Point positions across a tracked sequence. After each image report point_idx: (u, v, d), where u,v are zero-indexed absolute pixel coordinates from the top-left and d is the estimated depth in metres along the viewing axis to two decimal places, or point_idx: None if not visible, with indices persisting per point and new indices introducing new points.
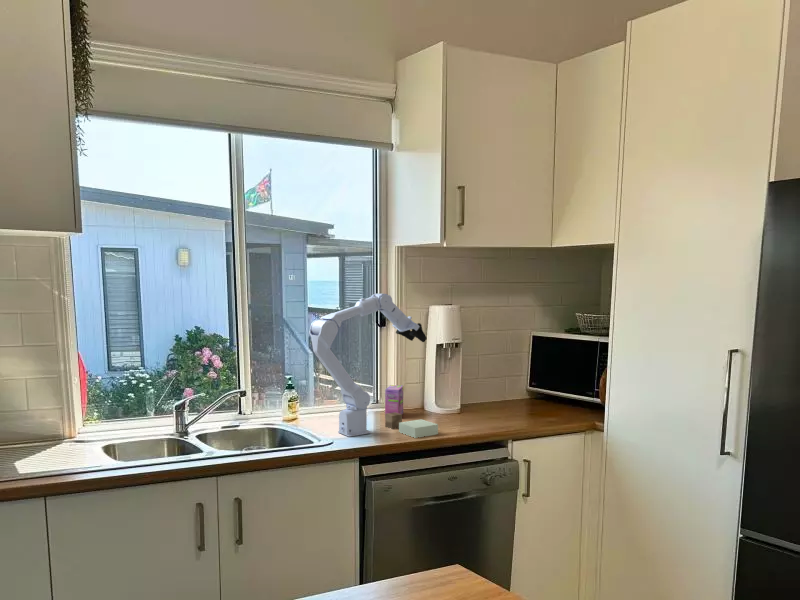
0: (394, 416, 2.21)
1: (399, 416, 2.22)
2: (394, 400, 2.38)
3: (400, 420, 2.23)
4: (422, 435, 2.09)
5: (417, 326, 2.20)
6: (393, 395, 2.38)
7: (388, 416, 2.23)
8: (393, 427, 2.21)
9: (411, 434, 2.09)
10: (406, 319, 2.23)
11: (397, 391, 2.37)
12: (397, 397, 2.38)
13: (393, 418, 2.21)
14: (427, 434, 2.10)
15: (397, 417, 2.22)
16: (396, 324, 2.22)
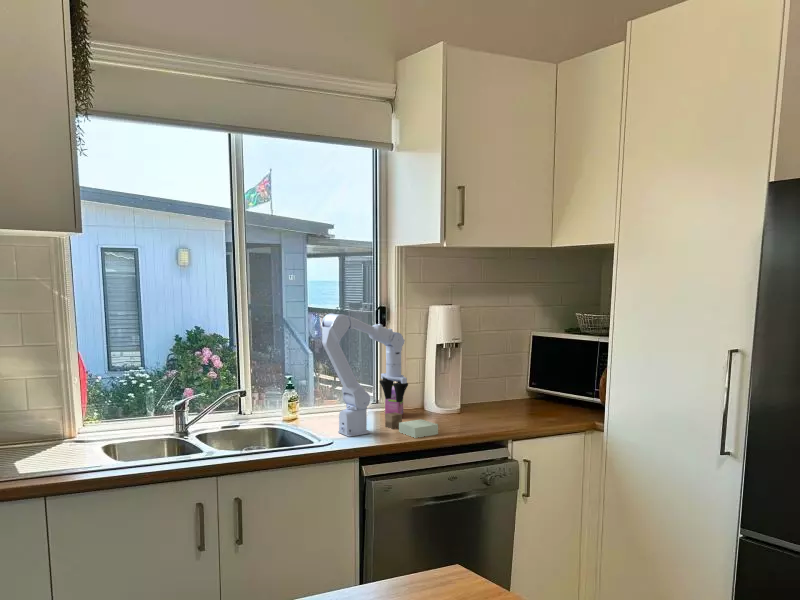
0: (394, 416, 2.21)
1: (399, 416, 2.22)
2: (394, 400, 2.38)
3: (400, 420, 2.23)
4: (422, 435, 2.09)
5: (405, 380, 2.18)
6: (393, 395, 2.38)
7: (388, 416, 2.23)
8: (393, 427, 2.21)
9: (411, 434, 2.09)
10: (399, 371, 2.22)
11: None
12: None
13: (393, 418, 2.21)
14: (427, 434, 2.10)
15: (397, 417, 2.22)
16: (389, 367, 2.21)
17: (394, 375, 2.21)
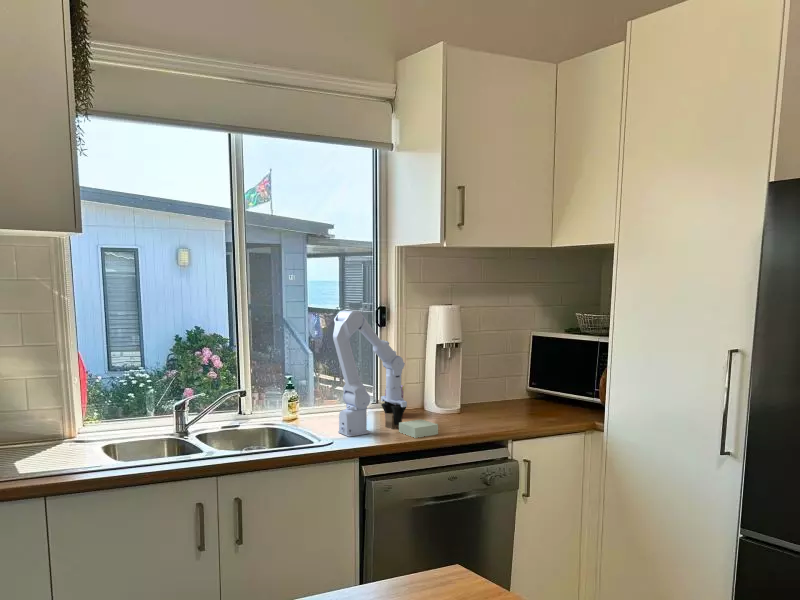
0: None
1: None
2: None
3: None
4: (422, 435, 2.09)
5: (405, 404, 2.18)
6: None
7: (388, 416, 2.23)
8: (393, 427, 2.21)
9: (411, 434, 2.09)
10: (399, 394, 2.22)
11: None
12: None
13: (393, 418, 2.21)
14: (427, 434, 2.10)
15: None
16: (389, 391, 2.21)
17: (394, 398, 2.21)
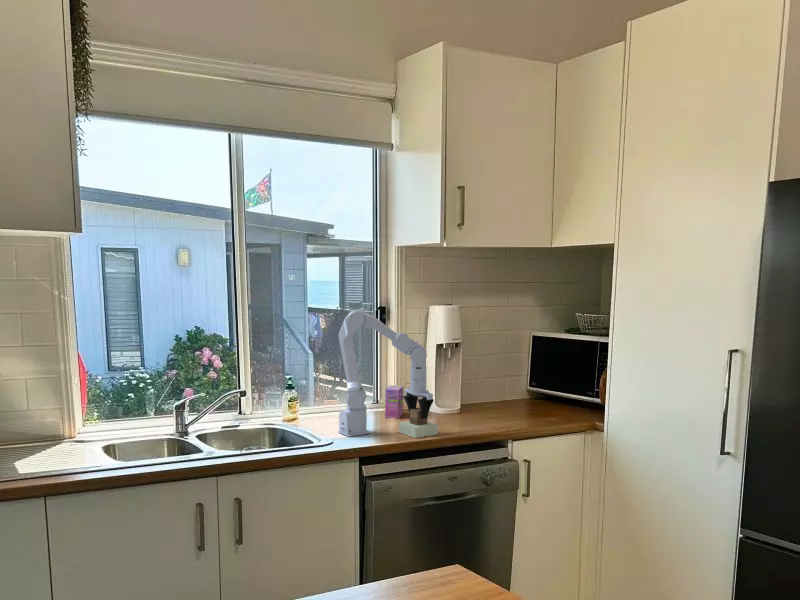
0: (419, 412, 2.12)
1: None
2: (394, 400, 2.38)
3: None
4: (422, 435, 2.09)
5: (431, 397, 2.08)
6: (393, 395, 2.38)
7: (413, 412, 2.13)
8: (418, 423, 2.11)
9: (411, 434, 2.09)
10: (425, 386, 2.12)
11: (397, 391, 2.37)
12: (397, 397, 2.38)
13: (418, 414, 2.11)
14: (427, 434, 2.10)
15: None
16: (414, 383, 2.11)
17: (419, 391, 2.11)
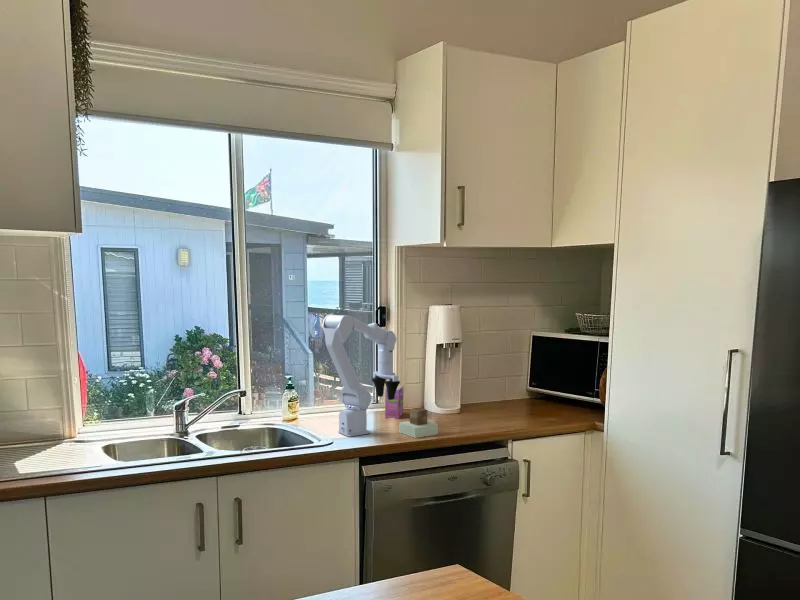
0: (419, 412, 2.12)
1: (424, 412, 2.13)
2: (394, 400, 2.38)
3: (425, 416, 2.13)
4: (422, 435, 2.09)
5: (397, 378, 2.20)
6: None
7: (413, 412, 2.13)
8: (418, 423, 2.11)
9: (411, 434, 2.09)
10: (391, 369, 2.25)
11: (397, 391, 2.37)
12: (397, 397, 2.38)
13: (418, 414, 2.11)
14: (427, 434, 2.10)
15: (422, 413, 2.12)
16: (381, 365, 2.24)
17: (386, 373, 2.23)
